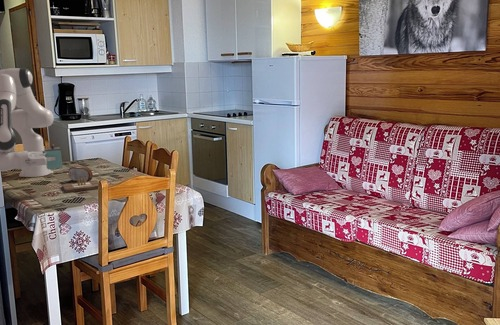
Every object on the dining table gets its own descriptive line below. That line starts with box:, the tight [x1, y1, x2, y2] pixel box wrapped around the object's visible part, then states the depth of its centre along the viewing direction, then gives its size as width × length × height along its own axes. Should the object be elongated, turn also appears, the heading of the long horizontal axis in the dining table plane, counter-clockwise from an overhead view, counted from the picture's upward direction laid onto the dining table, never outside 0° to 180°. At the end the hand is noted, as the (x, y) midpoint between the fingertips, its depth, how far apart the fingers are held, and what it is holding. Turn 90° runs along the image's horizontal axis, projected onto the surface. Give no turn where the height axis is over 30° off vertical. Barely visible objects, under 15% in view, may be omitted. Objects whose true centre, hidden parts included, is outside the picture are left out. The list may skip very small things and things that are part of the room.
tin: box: [67, 165, 94, 182], centre depth 279 cm, size 15×3×8 cm, turn 68°
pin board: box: [61, 178, 99, 194], centre depth 265 cm, size 14×18×5 cm
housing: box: [44, 143, 63, 170], centre depth 256 cm, size 5×7×12 cm
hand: (54, 157), depth 256 cm, fingers closed on housing, 5 cm apart
